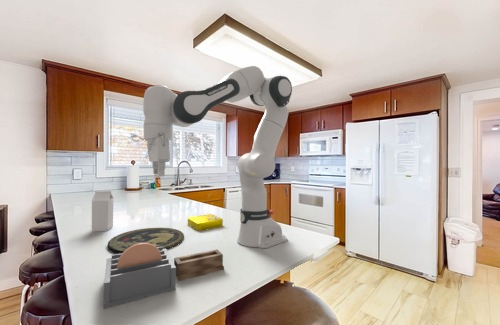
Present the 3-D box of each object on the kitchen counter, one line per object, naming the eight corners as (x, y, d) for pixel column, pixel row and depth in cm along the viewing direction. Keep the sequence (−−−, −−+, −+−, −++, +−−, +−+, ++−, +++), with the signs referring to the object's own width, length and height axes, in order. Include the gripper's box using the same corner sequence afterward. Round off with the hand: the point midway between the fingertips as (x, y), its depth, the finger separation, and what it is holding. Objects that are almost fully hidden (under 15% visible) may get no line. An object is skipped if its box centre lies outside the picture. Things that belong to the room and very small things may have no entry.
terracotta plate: (161, 276, 65) (161, 239, 65) (162, 279, 64) (161, 240, 64) (117, 288, 60) (116, 247, 59) (117, 290, 58) (116, 248, 58)
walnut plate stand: (215, 261, 78) (216, 248, 78) (223, 269, 72) (224, 255, 72) (173, 270, 71) (173, 256, 71) (178, 281, 65) (178, 265, 65)
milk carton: (108, 230, 110) (108, 192, 110) (91, 231, 108) (91, 192, 108) (113, 226, 117) (113, 190, 116) (97, 227, 115) (98, 190, 115)
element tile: (210, 221, 132) (211, 212, 132) (224, 227, 120) (224, 218, 120) (186, 225, 123) (186, 216, 123) (198, 232, 111) (198, 222, 111)
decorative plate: (87, 247, 85) (140, 224, 115) (87, 252, 85) (140, 228, 115) (158, 255, 80) (195, 229, 109) (158, 260, 80) (195, 233, 109)
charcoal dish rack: (165, 266, 74) (165, 245, 74) (175, 289, 61) (176, 263, 61) (106, 279, 65) (106, 255, 65) (103, 308, 53) (104, 279, 53)
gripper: (174, 131, 69) (175, 176, 69) (162, 137, 86) (162, 173, 86) (152, 130, 66) (153, 177, 66) (144, 136, 83) (145, 174, 83)
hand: (158, 175), depth 76 cm, fingers open, 8 cm apart
